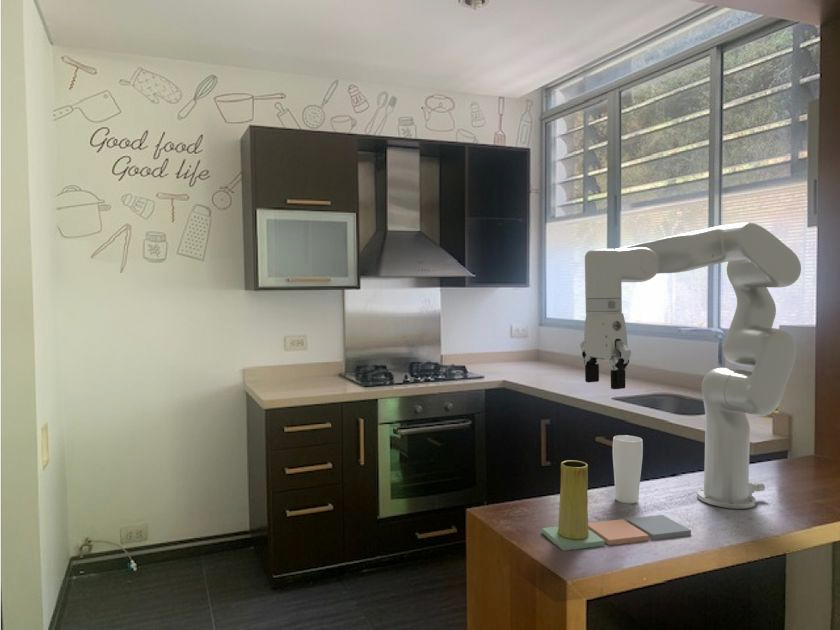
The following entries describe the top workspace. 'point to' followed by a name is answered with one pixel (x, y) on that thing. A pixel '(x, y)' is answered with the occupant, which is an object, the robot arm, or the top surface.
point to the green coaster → (572, 540)
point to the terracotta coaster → (617, 532)
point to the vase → (573, 500)
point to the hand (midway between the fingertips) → (604, 385)
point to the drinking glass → (627, 467)
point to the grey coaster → (659, 527)
